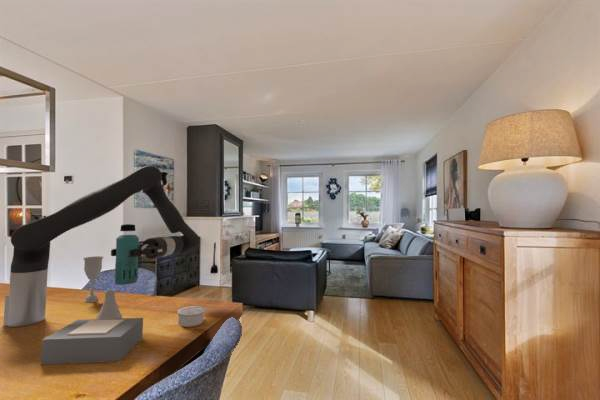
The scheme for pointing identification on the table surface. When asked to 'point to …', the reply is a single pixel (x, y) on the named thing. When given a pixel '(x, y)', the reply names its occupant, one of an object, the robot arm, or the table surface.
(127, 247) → the beverage bottle
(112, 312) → the flask
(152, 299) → the table surface
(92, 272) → the chalice
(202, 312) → the ramekin
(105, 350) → the stand
